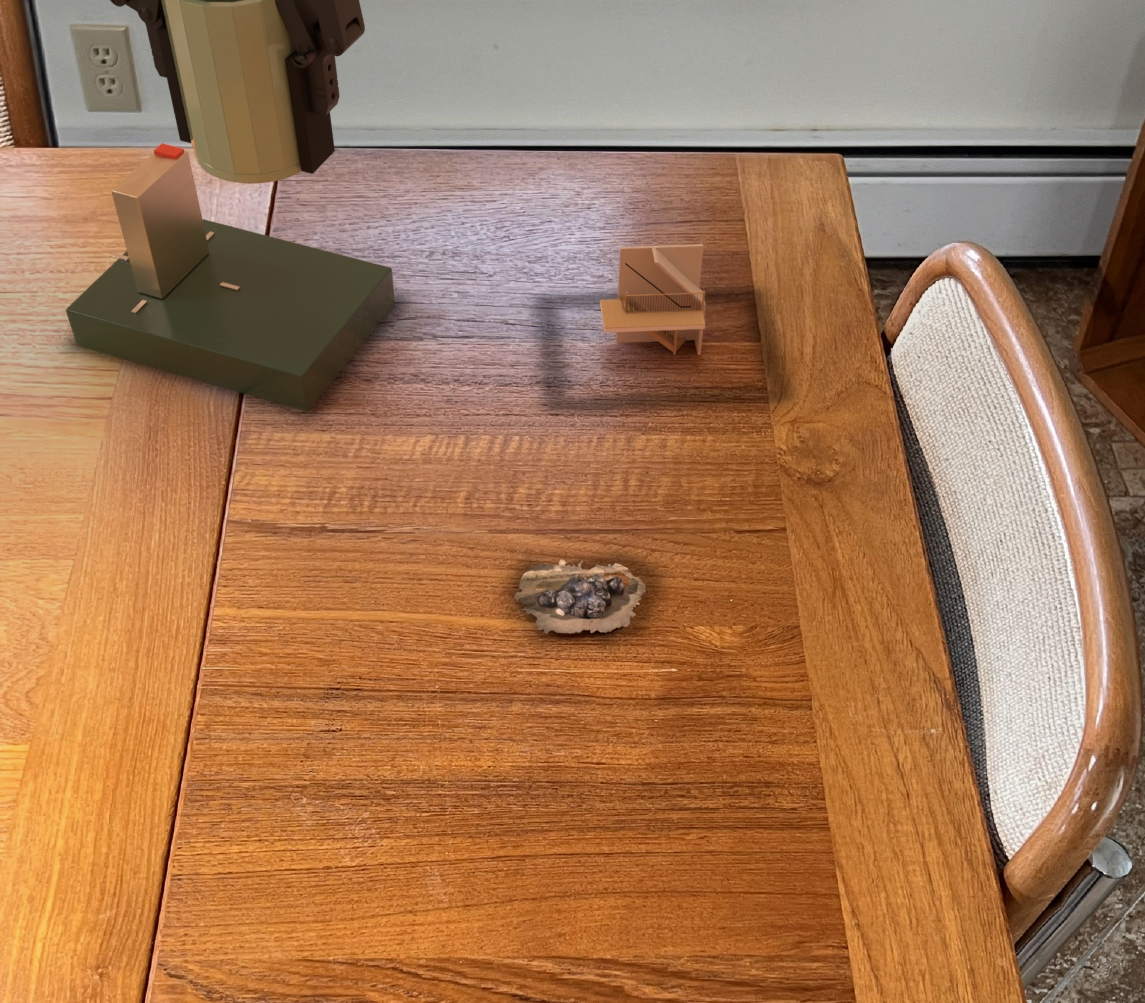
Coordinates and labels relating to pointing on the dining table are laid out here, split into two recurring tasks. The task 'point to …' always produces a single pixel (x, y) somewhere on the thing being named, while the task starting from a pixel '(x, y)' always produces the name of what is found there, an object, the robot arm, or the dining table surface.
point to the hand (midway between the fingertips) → (257, 145)
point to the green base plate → (242, 316)
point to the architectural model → (658, 296)
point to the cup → (235, 87)
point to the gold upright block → (161, 220)
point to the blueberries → (579, 597)
